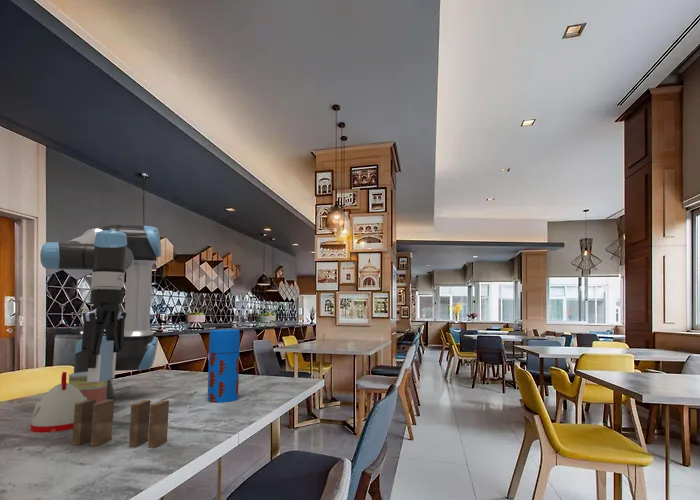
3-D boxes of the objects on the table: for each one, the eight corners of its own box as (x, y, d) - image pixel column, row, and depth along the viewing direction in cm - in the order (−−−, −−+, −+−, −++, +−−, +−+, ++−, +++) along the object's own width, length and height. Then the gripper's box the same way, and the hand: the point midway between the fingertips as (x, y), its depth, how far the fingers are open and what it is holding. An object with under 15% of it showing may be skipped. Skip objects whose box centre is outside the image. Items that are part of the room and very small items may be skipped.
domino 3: (90, 446, 103) (93, 403, 104) (104, 439, 108) (106, 399, 109) (98, 446, 103) (101, 404, 104) (111, 439, 108) (114, 399, 109)
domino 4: (128, 447, 102) (131, 404, 103) (140, 440, 107) (143, 400, 108) (136, 447, 102) (138, 404, 103) (148, 440, 107) (150, 400, 108)
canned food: (58, 412, 136) (61, 374, 138) (93, 405, 146) (95, 370, 148) (78, 416, 131) (81, 377, 133) (113, 408, 141) (115, 372, 143)
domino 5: (148, 447, 102) (150, 404, 103) (159, 441, 107) (161, 400, 108) (156, 447, 101) (158, 405, 103) (166, 441, 106) (169, 400, 108)
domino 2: (90, 382, 105) (93, 341, 107) (104, 379, 110) (107, 340, 112) (97, 382, 105) (100, 341, 107) (111, 379, 110) (113, 340, 112)
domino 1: (71, 445, 104) (74, 403, 105) (86, 439, 109) (89, 399, 110) (79, 445, 103) (82, 403, 105) (93, 439, 108) (96, 399, 110)
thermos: (226, 395, 161) (228, 329, 165) (244, 398, 155) (245, 329, 158) (201, 400, 153) (204, 330, 156) (218, 404, 146) (220, 331, 150)
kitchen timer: (86, 416, 131) (89, 367, 133) (90, 426, 120) (94, 373, 122) (30, 424, 123) (35, 372, 125) (30, 436, 112) (35, 378, 114)
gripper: (96, 286, 102) (88, 385, 98) (141, 290, 120) (136, 374, 116) (68, 287, 103) (59, 385, 99) (117, 290, 120) (111, 374, 117)
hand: (101, 379), depth 108 cm, fingers closed on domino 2, 5 cm apart
